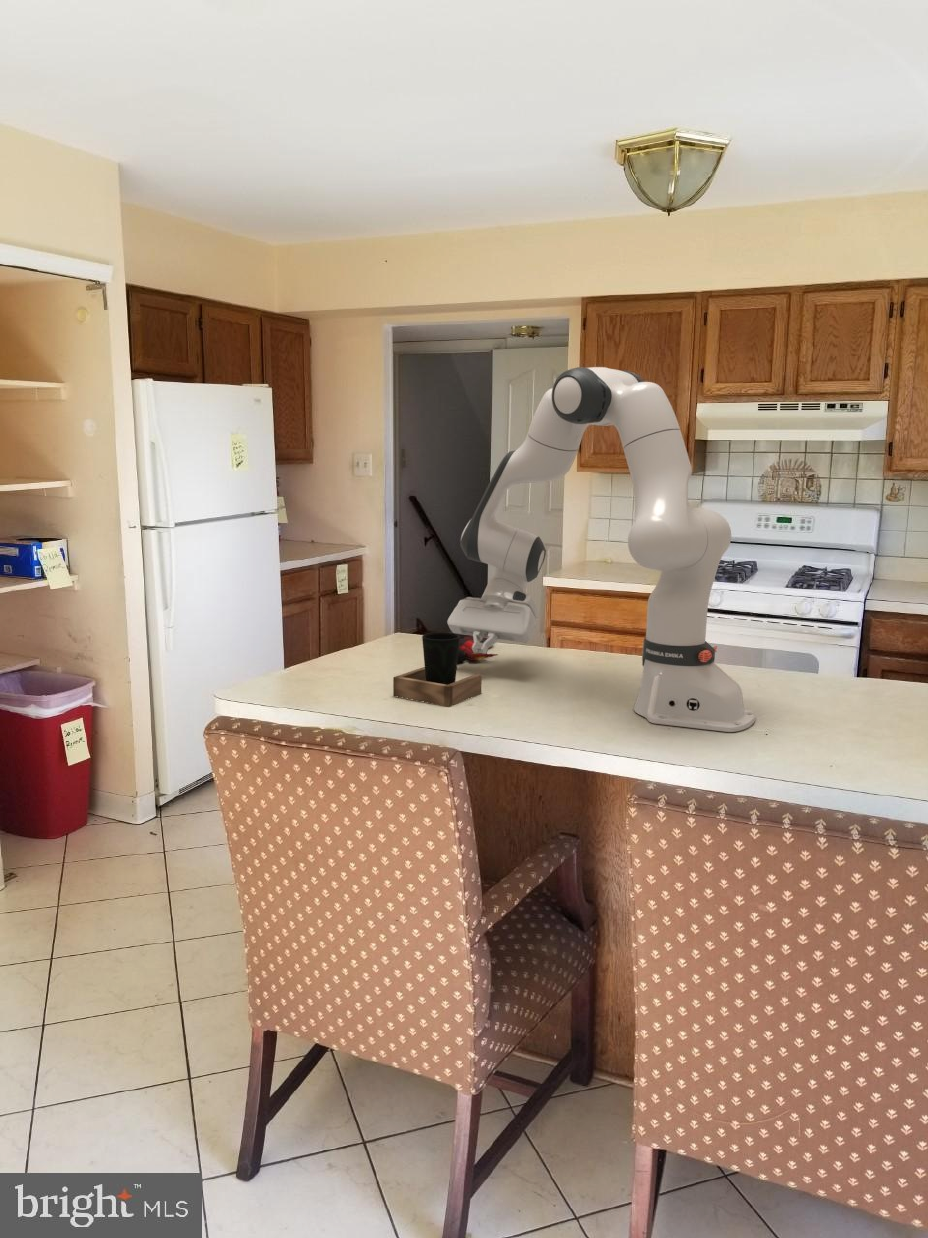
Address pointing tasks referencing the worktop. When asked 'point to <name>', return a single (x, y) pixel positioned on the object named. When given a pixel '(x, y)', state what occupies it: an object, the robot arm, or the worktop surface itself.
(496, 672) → the worktop surface
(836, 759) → the worktop surface
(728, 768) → the worktop surface
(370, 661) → the worktop surface
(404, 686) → the bay
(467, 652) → the toy motorcycle
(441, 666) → the cup
